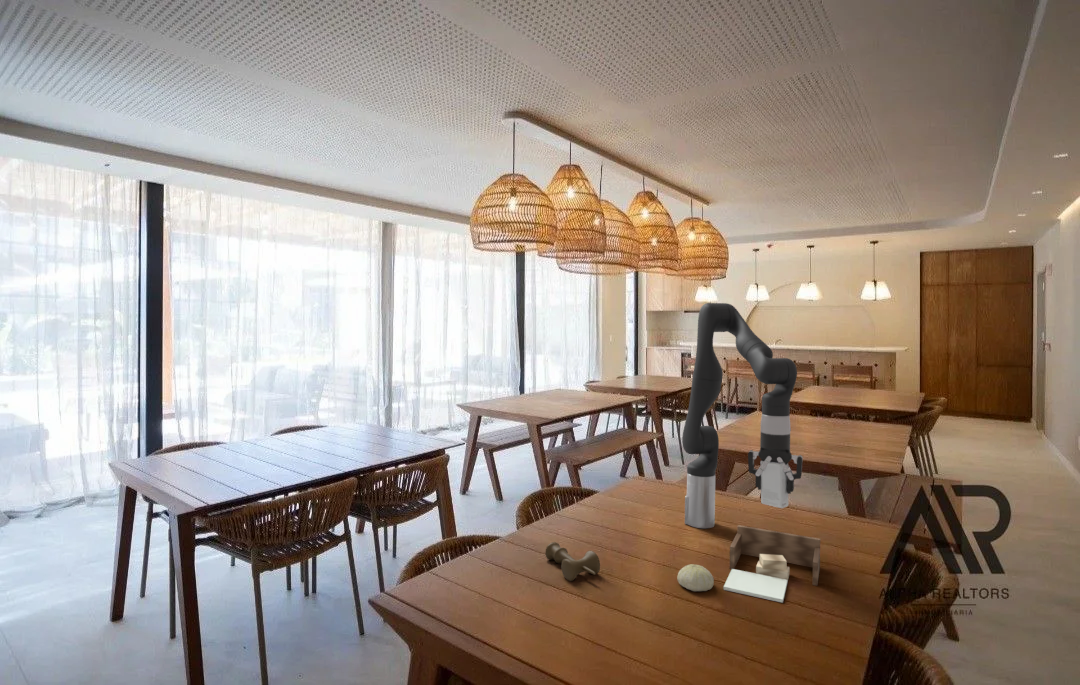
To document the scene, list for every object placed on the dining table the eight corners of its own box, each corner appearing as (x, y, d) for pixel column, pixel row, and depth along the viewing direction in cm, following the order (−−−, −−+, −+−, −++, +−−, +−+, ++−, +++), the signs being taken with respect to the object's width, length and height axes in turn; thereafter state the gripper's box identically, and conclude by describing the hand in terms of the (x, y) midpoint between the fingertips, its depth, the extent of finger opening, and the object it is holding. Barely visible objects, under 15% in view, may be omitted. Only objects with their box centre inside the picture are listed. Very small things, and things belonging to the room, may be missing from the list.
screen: (729, 568, 158) (730, 539, 157) (737, 551, 169) (738, 525, 169) (817, 585, 147) (818, 555, 147) (819, 567, 159) (820, 538, 158)
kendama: (565, 556, 167) (610, 580, 150) (537, 564, 161) (581, 590, 145) (564, 536, 166) (609, 557, 150) (537, 544, 161) (580, 567, 144)
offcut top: (763, 569, 153) (763, 559, 152) (759, 562, 156) (759, 553, 156) (786, 570, 152) (786, 561, 152) (782, 564, 156) (782, 555, 155)
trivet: (723, 589, 145) (723, 586, 145) (731, 571, 155) (732, 568, 155) (782, 602, 138) (782, 599, 138) (787, 582, 149) (787, 579, 149)
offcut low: (755, 575, 154) (756, 566, 154) (758, 569, 158) (758, 560, 158) (787, 582, 150) (788, 572, 150) (789, 576, 154) (789, 567, 154)
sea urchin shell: (714, 571, 151) (714, 559, 145) (713, 602, 146) (713, 590, 140) (679, 566, 154) (677, 554, 148) (677, 596, 149) (675, 584, 143)
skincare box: (789, 506, 155) (789, 461, 154) (781, 509, 152) (781, 464, 152) (767, 500, 159) (768, 457, 159) (759, 503, 157) (760, 460, 156)
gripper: (745, 431, 155) (744, 491, 156) (803, 435, 148) (802, 498, 149) (749, 426, 162) (748, 484, 162) (804, 431, 155) (804, 491, 156)
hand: (774, 490), depth 156 cm, fingers closed on skincare box, 7 cm apart
